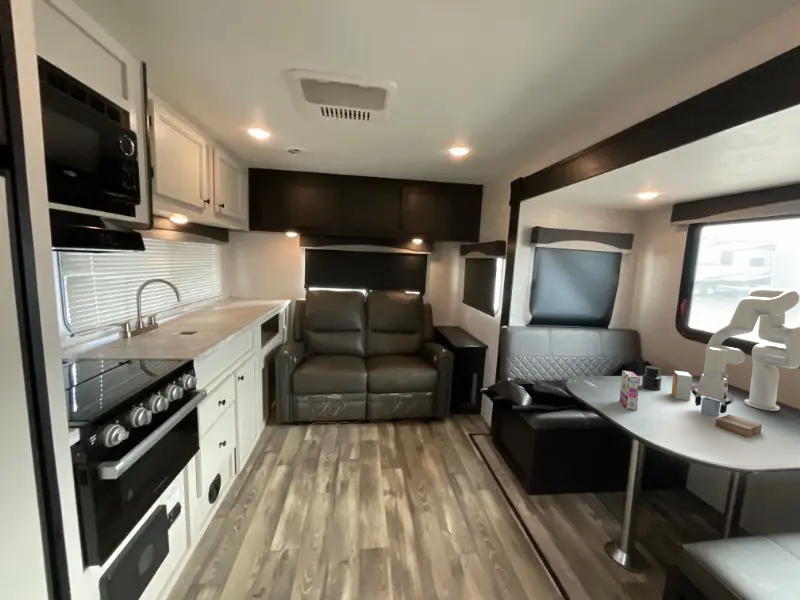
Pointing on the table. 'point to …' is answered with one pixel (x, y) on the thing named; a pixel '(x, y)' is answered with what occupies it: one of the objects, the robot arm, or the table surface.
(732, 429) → the walnut block
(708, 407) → the slate block
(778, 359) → the robot arm
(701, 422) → the table surface
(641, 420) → the table surface
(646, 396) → the table surface
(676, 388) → the small box
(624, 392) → the candy bar box
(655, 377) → the ink bottle
